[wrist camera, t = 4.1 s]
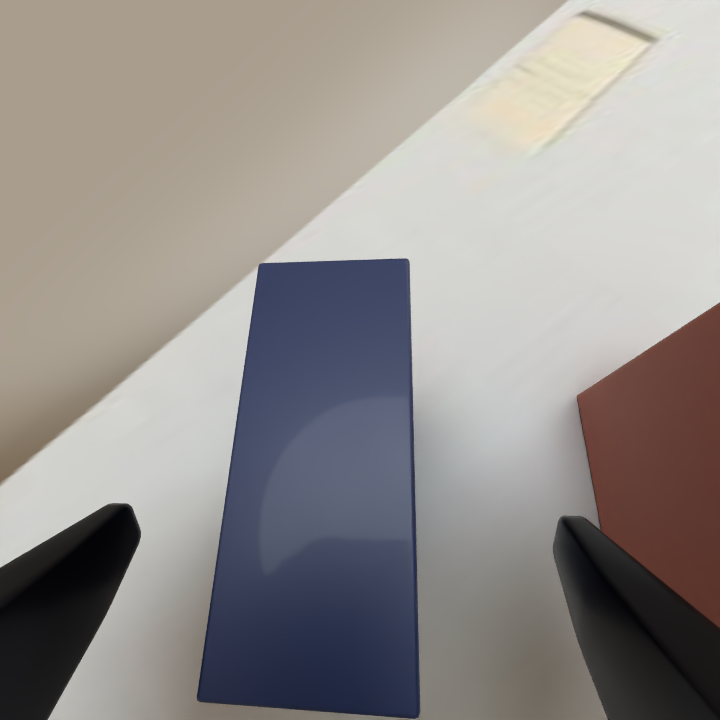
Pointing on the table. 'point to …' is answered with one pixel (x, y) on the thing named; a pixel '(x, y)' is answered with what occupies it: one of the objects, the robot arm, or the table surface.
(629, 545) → the brick-red books
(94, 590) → the robot arm
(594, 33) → the table surface
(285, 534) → the navy book
